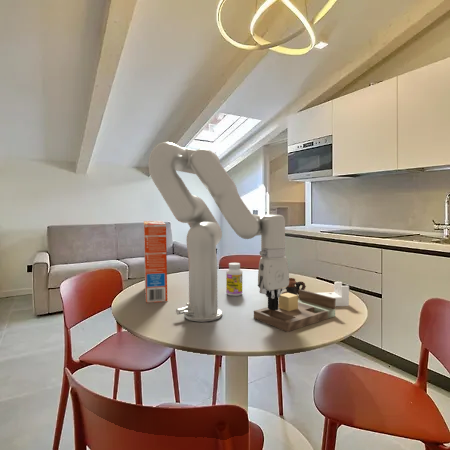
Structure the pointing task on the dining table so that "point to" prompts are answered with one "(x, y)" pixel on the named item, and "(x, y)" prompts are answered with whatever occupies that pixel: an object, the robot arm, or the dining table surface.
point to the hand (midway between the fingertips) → (273, 309)
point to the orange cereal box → (155, 261)
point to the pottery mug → (292, 288)
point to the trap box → (299, 312)
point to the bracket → (339, 294)
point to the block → (288, 301)
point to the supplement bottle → (234, 280)
